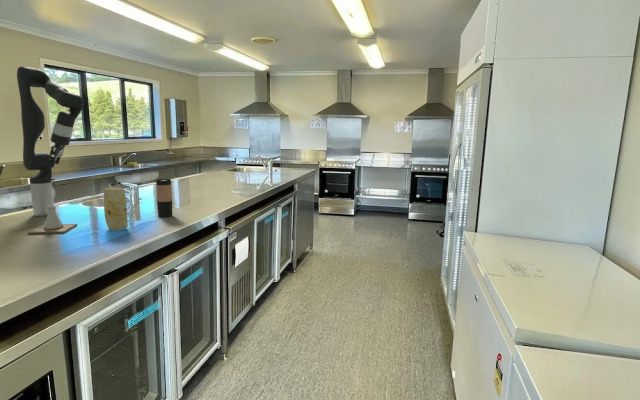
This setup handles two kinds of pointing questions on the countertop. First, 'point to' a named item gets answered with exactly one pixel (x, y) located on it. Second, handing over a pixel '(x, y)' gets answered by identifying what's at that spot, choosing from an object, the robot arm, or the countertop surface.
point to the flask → (52, 219)
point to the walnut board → (52, 230)
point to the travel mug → (164, 197)
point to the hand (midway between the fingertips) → (53, 165)
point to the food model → (115, 208)
